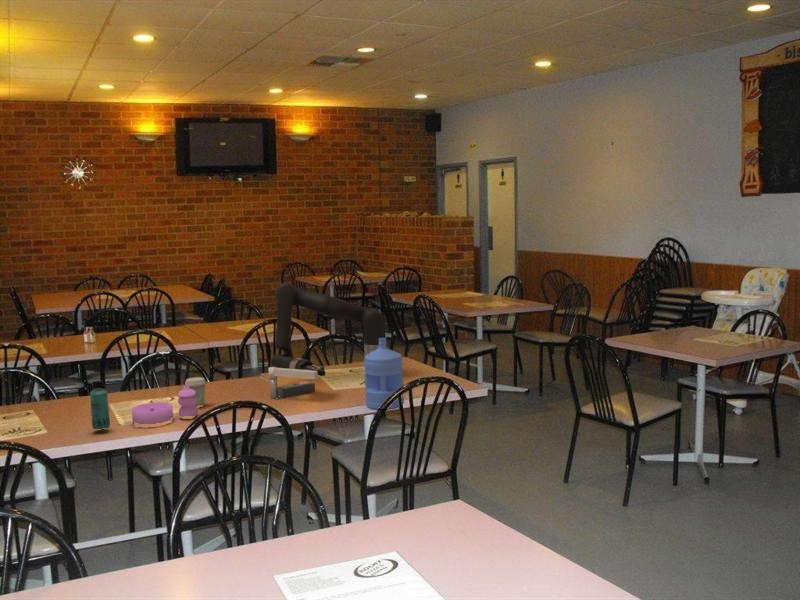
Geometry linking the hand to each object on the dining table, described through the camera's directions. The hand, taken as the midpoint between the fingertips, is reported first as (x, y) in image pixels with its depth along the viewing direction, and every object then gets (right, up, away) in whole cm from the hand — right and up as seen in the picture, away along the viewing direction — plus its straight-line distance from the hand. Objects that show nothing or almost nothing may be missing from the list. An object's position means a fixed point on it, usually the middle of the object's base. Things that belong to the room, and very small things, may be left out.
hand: (323, 373), depth 333 cm
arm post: (-22, -12, +9) cm, 27 cm away
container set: (-61, -17, -19) cm, 66 cm away
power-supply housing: (-14, -10, +16) cm, 23 cm away
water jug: (+26, -13, -8) cm, 30 cm away
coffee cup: (-53, -14, 0) cm, 55 cm away
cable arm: (-13, -3, +3) cm, 14 cm away
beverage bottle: (-82, -20, -31) cm, 90 cm away
